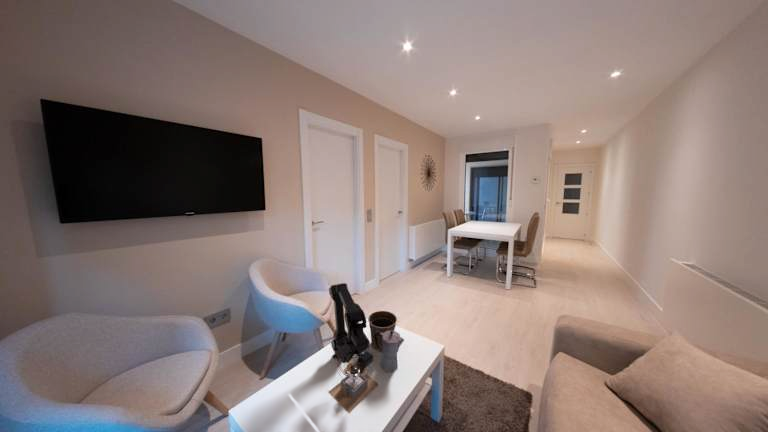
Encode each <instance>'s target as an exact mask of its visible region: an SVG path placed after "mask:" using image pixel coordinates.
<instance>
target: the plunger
mask: <svg viewBox="0 0 768 432" xmlns="http://www.w3.org/2000/svg"><path fill="white" fill-rule="evenodd" d="M358 368H359V366H358V365H357V364H354V365H351V366H350V368H349V371H350V372H349V373H348V375H349V378H348V379H347V380H346V381H345V383H346V384H347V385H348V386H349V387H351V388H352V389H353V390H354V389H356V388H357V387H358V386H359V385H360V384H361V383H362V382H363V381H364V380H363V379H361V378H360V377H359V372H358Z"/></svg>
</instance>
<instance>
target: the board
mask: <svg viewBox="0 0 768 432" xmlns="http://www.w3.org/2000/svg"><path fill="white" fill-rule="evenodd" d="M361 375H362V376H364V377H365V378H366V379H367V380H368V387H367V388H366V389H365V390H364V391H363V392H362V393H361V394H360V395H359V396H358V397H357V398H356V399H355V400H352V399H351V398H350V397H349V396H345V395H344V394H343V390H342V389H341V381H340V382H339V383H337V384H336V385H335V386H334V387H333V388H331V389H330V390H329V391H328V393H329V395H331V397H332V398H333V399H334V400H336V402H337V403H338V404H339V405H340V406H341V407H342V408H343V409H344V410H345V411H346V412H347V413H348V414H351V412H352V411H353V410H354V409H356V407H357V406H359V404H361V403H362V402H363V401H364V400H365V399H366V398H367V397H368V396H369V395H370V394H371V393H372V392H373V391H374V390H375V389H376V388H377V387H378V386H379V385H380V384H379V383H378V382H377V381H376V380H375V379H373V378H372V377H371V376H370V375H368V373H366V372H365V371H363V373H362V374H361Z"/></svg>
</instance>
